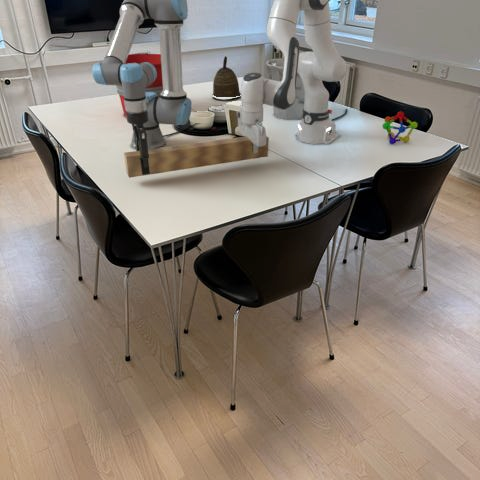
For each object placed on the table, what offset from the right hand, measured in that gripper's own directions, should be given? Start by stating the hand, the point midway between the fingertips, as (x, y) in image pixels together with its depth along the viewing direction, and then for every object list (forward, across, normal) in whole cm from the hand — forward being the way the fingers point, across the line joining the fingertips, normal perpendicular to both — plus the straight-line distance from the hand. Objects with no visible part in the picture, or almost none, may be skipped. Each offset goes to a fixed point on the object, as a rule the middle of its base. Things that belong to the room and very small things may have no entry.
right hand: (251, 149), depth 183 cm
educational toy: (+8, -2, -75) cm, 75 cm away
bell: (+8, +108, -31) cm, 113 cm away
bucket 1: (+7, +92, +24) cm, 95 cm away
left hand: (+2, 0, +45) cm, 45 cm away
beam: (+3, 0, +23) cm, 23 cm away
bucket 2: (+8, +58, -50) cm, 77 cm away
